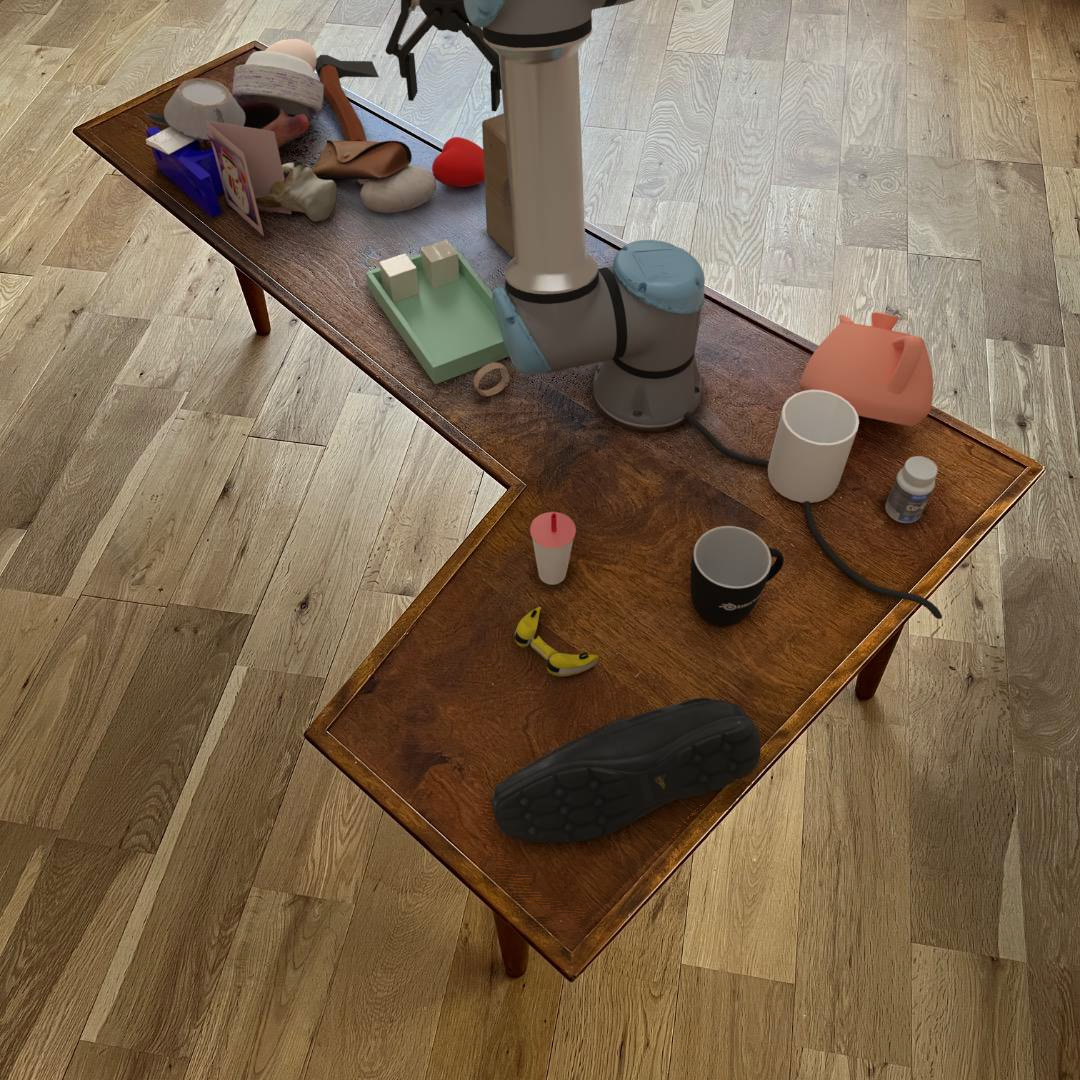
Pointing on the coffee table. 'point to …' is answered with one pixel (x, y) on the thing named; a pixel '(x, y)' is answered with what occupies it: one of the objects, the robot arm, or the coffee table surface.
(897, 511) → the pill bottle
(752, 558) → the mug
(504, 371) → the beige ring band
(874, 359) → the teapot
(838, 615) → the coffee table surface
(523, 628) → the yellow curved segmented toy
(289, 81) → the paper bowls
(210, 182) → the mounting bracket
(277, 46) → the egg
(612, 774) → the loafer
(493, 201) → the decorative block
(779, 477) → the mug
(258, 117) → the bowl
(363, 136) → the hand axe
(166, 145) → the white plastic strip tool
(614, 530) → the coffee table surface
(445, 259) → the cream block
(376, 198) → the decorative stone
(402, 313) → the ornament tray
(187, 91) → the bowl
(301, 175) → the ceramic sculpture
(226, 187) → the greeting card
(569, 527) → the cup
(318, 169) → the sunglasses case
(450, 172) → the heart
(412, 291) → the beige short block
